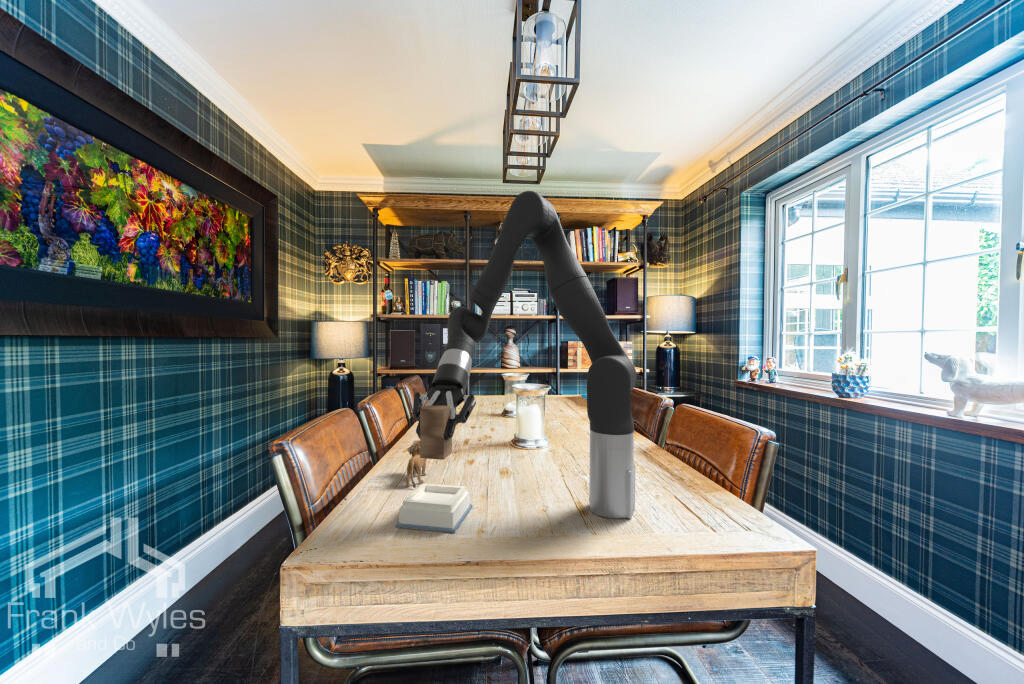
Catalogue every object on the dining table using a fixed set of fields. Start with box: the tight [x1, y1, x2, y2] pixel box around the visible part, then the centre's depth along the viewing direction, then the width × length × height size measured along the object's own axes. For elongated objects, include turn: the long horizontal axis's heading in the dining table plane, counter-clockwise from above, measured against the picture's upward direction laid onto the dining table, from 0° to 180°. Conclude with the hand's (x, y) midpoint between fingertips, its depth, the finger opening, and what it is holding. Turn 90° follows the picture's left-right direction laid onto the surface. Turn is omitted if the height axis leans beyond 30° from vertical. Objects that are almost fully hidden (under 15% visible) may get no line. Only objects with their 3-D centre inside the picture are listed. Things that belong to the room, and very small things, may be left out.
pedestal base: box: [395, 483, 474, 534], centre depth 84 cm, size 12×12×5 cm
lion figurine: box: [405, 439, 427, 489], centre depth 107 cm, size 15×5×9 cm, turn 12°
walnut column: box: [419, 405, 453, 461], centre depth 84 cm, size 5×5×10 cm
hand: (433, 437), depth 82 cm, fingers closed on walnut column, 5 cm apart
